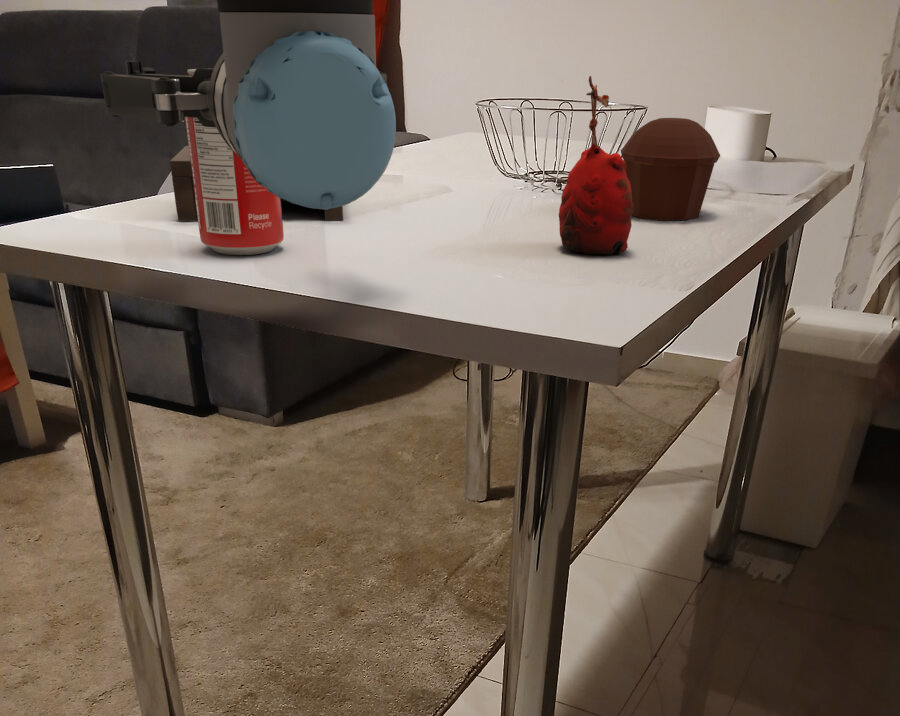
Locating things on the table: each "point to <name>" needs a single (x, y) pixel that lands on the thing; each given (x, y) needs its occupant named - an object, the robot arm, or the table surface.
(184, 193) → the stand
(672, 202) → the muffin
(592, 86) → the red clay folk toy
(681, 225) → the table surface
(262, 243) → the soda can
